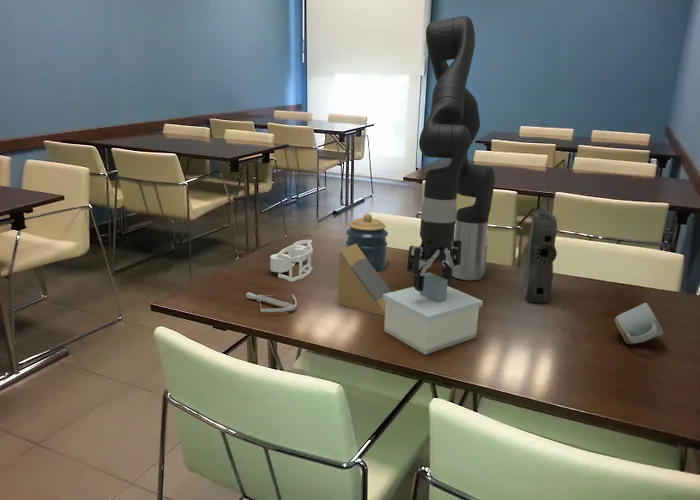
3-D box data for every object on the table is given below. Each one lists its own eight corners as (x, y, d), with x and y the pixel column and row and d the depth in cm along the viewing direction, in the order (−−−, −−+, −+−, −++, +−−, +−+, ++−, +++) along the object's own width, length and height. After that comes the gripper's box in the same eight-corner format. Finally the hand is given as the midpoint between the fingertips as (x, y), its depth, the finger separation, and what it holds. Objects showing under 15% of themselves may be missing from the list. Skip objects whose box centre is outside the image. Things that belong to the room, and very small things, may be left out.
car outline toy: (295, 259, 179) (295, 237, 177) (326, 264, 175) (326, 242, 173) (263, 277, 161) (263, 253, 159) (297, 283, 157) (297, 259, 155)
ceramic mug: (626, 345, 128) (611, 315, 130) (663, 333, 125) (647, 302, 127) (627, 347, 119) (611, 314, 121) (666, 334, 116) (649, 300, 118)
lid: (435, 290, 136) (437, 262, 134) (481, 310, 124) (485, 280, 122) (382, 303, 126) (384, 273, 124) (427, 327, 114) (429, 294, 112)
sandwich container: (389, 318, 136) (393, 261, 131) (337, 304, 143) (339, 250, 139) (404, 307, 143) (407, 252, 138) (353, 294, 150) (355, 242, 146)
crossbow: (309, 304, 143) (309, 297, 143) (277, 320, 133) (277, 312, 132) (263, 291, 152) (263, 284, 151) (230, 304, 141) (230, 297, 141)
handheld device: (526, 307, 145) (538, 216, 138) (514, 287, 159) (524, 203, 152) (549, 308, 144) (563, 217, 137) (535, 288, 159) (547, 204, 152)
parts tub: (433, 316, 137) (435, 286, 135) (475, 337, 126) (479, 305, 124) (384, 330, 128) (385, 299, 126) (425, 354, 117) (427, 320, 115)
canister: (387, 276, 165) (390, 219, 160) (344, 274, 165) (346, 218, 160) (385, 262, 178) (387, 210, 173) (345, 261, 178) (347, 208, 173)
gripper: (449, 211, 126) (443, 277, 131) (402, 217, 118) (397, 287, 123) (473, 217, 120) (466, 286, 125) (426, 224, 112) (420, 298, 117)
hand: (432, 287), depth 124 cm, fingers open, 8 cm apart
